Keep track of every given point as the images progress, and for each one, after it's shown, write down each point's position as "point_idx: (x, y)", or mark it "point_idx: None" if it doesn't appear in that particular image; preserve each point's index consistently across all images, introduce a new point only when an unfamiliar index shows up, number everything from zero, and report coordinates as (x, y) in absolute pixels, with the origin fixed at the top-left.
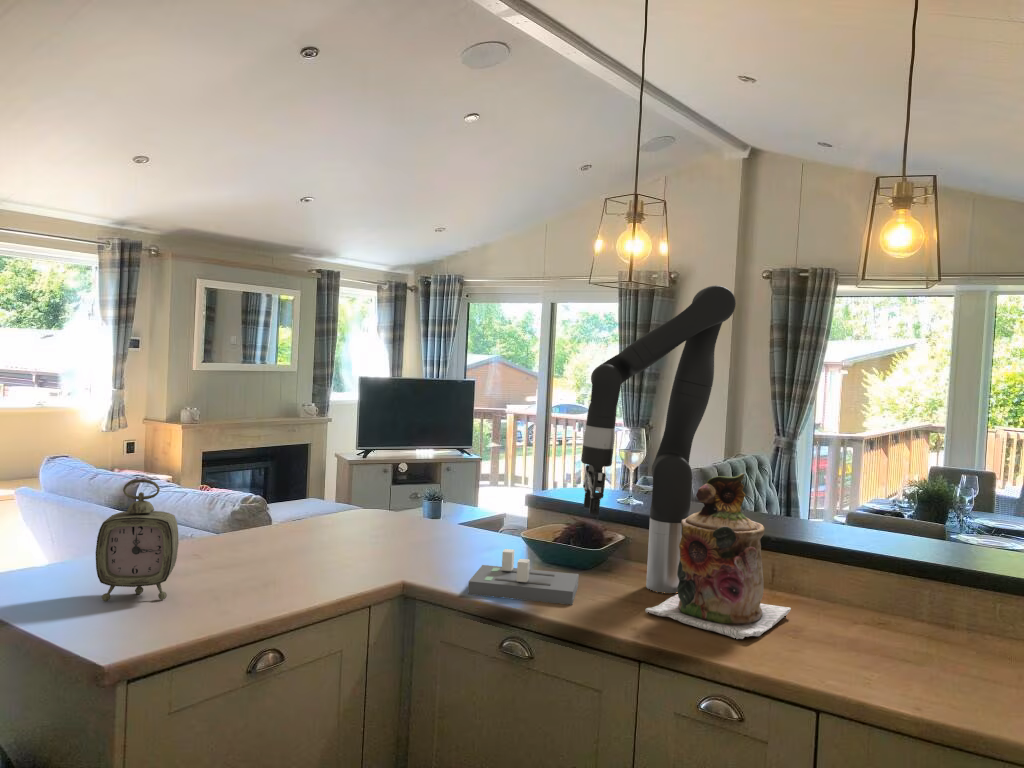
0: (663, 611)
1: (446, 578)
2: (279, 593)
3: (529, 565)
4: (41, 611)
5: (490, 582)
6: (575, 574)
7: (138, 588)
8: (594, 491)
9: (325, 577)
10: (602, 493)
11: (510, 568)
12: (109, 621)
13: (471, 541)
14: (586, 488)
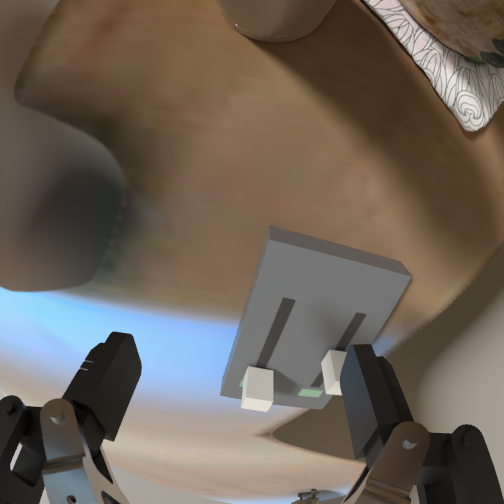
0: (481, 102)
1: (239, 409)
2: (303, 472)
3: (334, 370)
4: (326, 497)
5: None
6: (273, 248)
7: (301, 496)
8: (451, 487)
9: (252, 464)
10: (483, 453)
11: (272, 376)
12: (347, 487)
13: (34, 350)
14: (109, 468)
